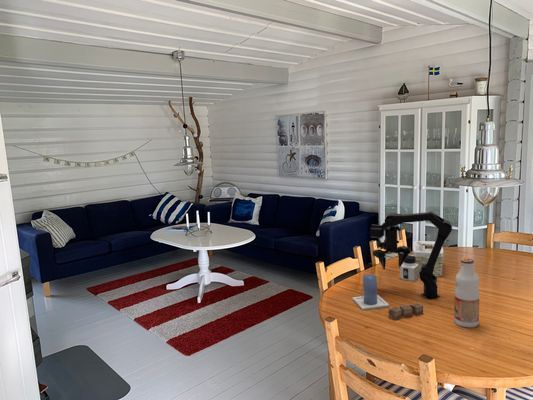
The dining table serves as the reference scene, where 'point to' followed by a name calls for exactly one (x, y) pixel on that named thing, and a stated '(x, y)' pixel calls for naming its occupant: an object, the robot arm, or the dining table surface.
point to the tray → (363, 306)
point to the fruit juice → (466, 295)
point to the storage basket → (427, 256)
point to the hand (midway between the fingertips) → (391, 267)
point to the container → (409, 268)
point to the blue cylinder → (370, 289)
